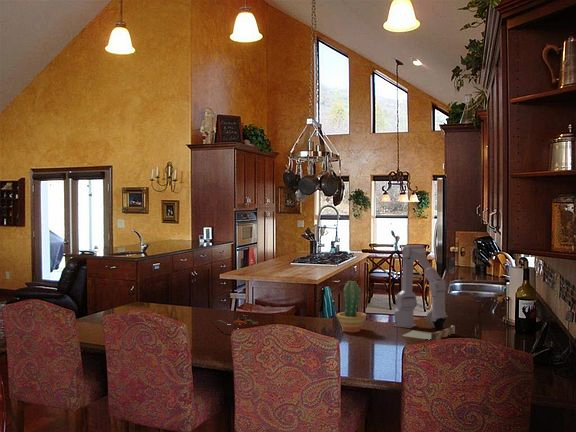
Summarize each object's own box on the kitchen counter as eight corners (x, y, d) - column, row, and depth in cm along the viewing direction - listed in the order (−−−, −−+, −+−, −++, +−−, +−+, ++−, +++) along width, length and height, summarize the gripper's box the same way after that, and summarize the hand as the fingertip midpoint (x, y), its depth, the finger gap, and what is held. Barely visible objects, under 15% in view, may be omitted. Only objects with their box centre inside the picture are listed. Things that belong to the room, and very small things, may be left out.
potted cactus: (371, 328, 275) (371, 280, 275) (358, 334, 262) (357, 284, 262) (345, 325, 284) (344, 278, 283) (330, 331, 271) (330, 282, 271)
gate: (434, 341, 245) (434, 333, 245) (431, 340, 246) (431, 333, 246) (452, 334, 258) (452, 327, 258) (450, 333, 259) (450, 327, 259)
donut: (428, 329, 272) (428, 309, 272) (425, 328, 275) (424, 308, 275) (445, 327, 275) (445, 308, 275) (441, 326, 278) (441, 307, 278)
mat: (401, 336, 258) (401, 335, 258) (413, 330, 269) (413, 330, 269) (429, 340, 250) (429, 339, 250) (440, 334, 261) (440, 333, 261)
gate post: (450, 334, 259) (450, 325, 259) (451, 334, 261) (451, 325, 261) (454, 335, 258) (454, 326, 258) (455, 334, 260) (455, 325, 260)
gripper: (441, 308, 246) (441, 338, 246) (452, 303, 257) (452, 331, 258) (426, 307, 250) (427, 336, 250) (437, 302, 262) (437, 330, 262)
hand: (438, 333), depth 254 cm, fingers closed
